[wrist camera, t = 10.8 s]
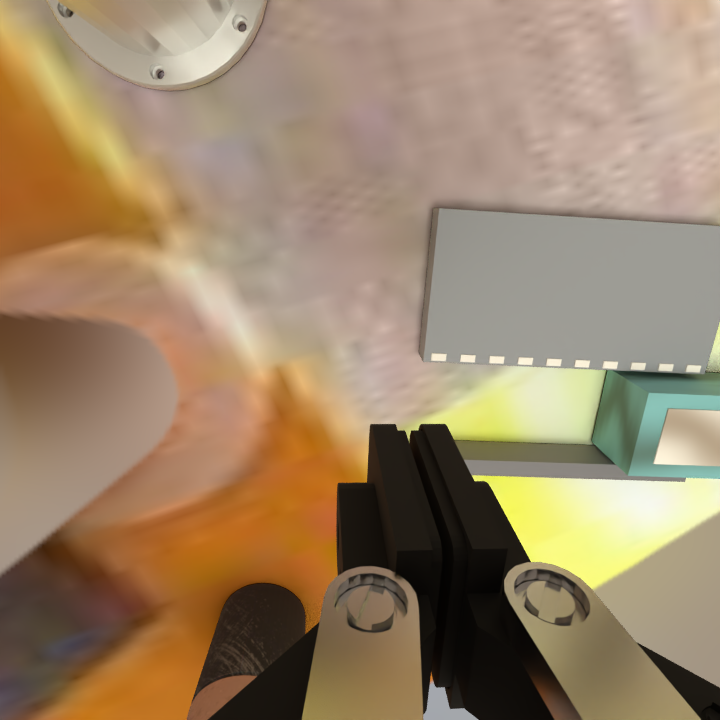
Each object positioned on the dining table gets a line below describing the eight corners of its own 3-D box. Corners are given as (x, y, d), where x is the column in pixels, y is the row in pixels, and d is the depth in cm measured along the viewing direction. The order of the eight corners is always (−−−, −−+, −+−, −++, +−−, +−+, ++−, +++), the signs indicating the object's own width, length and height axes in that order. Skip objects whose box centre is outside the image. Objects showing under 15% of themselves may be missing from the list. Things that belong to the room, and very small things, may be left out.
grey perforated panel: (433, 207, 32) (442, 208, 30) (723, 226, 34) (759, 228, 31) (408, 452, 38) (414, 473, 35) (659, 461, 39) (684, 481, 36)
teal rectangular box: (608, 367, 36) (649, 393, 31) (737, 373, 37) (798, 399, 32) (591, 441, 38) (628, 476, 33) (715, 446, 39) (769, 481, 34)
